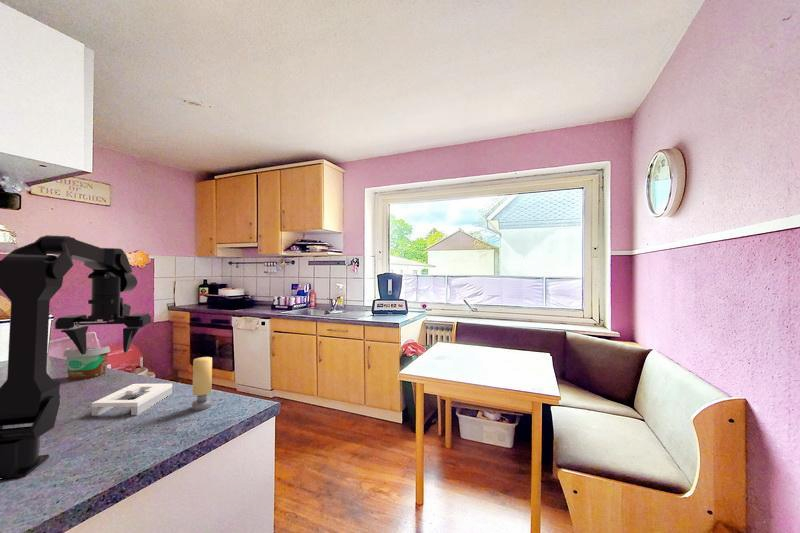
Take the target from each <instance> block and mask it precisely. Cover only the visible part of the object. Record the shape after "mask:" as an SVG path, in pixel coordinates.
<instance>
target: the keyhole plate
mask: <svg viewBox="0 0 800 533" xmlns="http://www.w3.org/2000/svg"><path fill="white" fill-rule="evenodd" d="M140 391H144V394H142V395H140V396H138V395H137V394H139V392H140ZM171 394H172V395H173V383H133V384H130V385H128V386H126V387H123V388H121V389H119V390H117V391H115V392H113V393H111V394H108V395H106V396H104V397H102V398H100V399H98V400H95V401H93V402H91V416H92V417H93V416H95V417H96V416H97V417H98V416H100V415H101V414H104V413H105V412H106V413H107V412H108V411H110V410H112V409H113V408H115V407H116V408H120V407H121V408H123V407H125V408H129V407H130V408H131V410H130V412H131V413H130V415H131V416H139V415H140V414H141V413H143V412H145V411H147V410H149V409H150V408H152V407H153V406H155V405H157V404H158V403H160V402H162V401H163V400H165V399H167V398H168V397H170V396H172V395H171ZM135 395H137V396H138V397H136V396H135ZM169 395H170V396H169ZM134 396H135V397H134ZM167 396H168V397H167ZM132 397H133V398H134V399H133V398H132ZM166 397H167V398H166ZM130 398H131V399H130ZM164 398H165V399H164ZM128 399H129V400H128ZM162 399H163V400H162ZM161 400H162V401H161ZM159 401H160V402H159ZM157 402H158V403H157ZM156 403H157V404H156ZM154 404H155V405H154ZM151 406H152V407H151Z"/></svg>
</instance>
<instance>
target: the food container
mask: <svg viewBox="0 0 800 533" xmlns="http://www.w3.org/2000/svg"><path fill="white" fill-rule="evenodd" d="M109 353H111V347H110V346H109V345H107V346H104V347H98V348H94V347H87V349H86V354H84V355H82V354H81V353H80V351H79V350H78V349H70V347H67V348H65V350H64V352H63V357H65V359H66V365H67V377H68V380H69V381H75V380H76V381H85V379H87V380H91V378H92V379H96V378H95V377H97V378H99V377H98V376H100V377H102V376H101V375H103V374H105V375H106V371H107V370H106V368H107V363H108V356H109V355H108V354H109ZM103 376H104V375H103Z"/></svg>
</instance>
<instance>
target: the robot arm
mask: <svg viewBox="0 0 800 533" xmlns="http://www.w3.org/2000/svg"><path fill="white" fill-rule="evenodd" d="M73 260H75V261H79V262H83V265H84V266H85V267H86V268H88V269H91V271H92V272H91V273H89V274H88V276H87V279H90V280H91V294H90V295H91V296H90V297H91V298H90V299H88V301H87V302H88V305H90V306H91V307H90V309H91V310H90V312H91V313H90V315H86V314H69V315H66V316H65V315H64V316H60V317H58V318H56V319H55V321H54V330H60V332H61V333H65V334H66V335H67V337H68V338H70V340H71V341H72V342H73V344H74V345H75V347H76V348H77V350H79V351H80V353H81V354H82V355H84V354H86V349H87V348H88V347H87V331H88V329H89V325H90V326H94V325H95V326H96V325H98V326H99V325H124V326H125V327H124V328H123V329H122V349H123V353H128V351H129V349H130V347H131V344H132V343H133V340H134V338H135V336H136V334H137V333H138V331H139V330H141V329H143V328H145V326H147V325H150V324H151V323H152V316H151V315H150V314H149V313H132V314H131V310H132V306H131V305H129V304H127V303H124V299H123V297H121V293H126V292H129V291H133V290H134V289H135V288H136V287H137V285H138V279H137V277H136V276H135V275H134V274H133V270H132V267H131V264H130V261H129V258H128V256H127V253H126V252H124V250H123V249H122V248H117V247H116V248H114V247H99V246H97V245H93V244H91V243H88V242H84V241H82V240H78V239H76V237H71V236H69V235H43V236H40V237H39V238H38V239H36V240H35V241H34V242H31V243H28V244H26V245H23V246H20V247H18V248H16V249H14V250H12V251H10V252H9V253H8V254H7V255H6V256H4V257H2V259H1V260H0V291H1V292H2V293H3V294H4V295H5V297H7V299H8V300H9V301H10V315H9V334H8V335H9V336H8V354H7V374H6V375H7V376H6V380H5V382H4V383H2V385H0V478H9V477H11V478H9V479H13V478H12V477H16V478H20V477H21V478H22V477H25V476H28V474H30V473H31V472H33V470H35V469H36V468H37V467H39V466H40V465H41V464H43V463H44V462H45V461H46V460H48V459H49V458H50V454H41V455H40V446H41V444H40V441H41V436H43V435H44V434H45V433H48V432H49V431H50V430H53V428H55V424H56V420H57V416H58V412H59V408H60V405H61V404H60V403H61V400H60V399H61V395H60V387H61V381H60V379H59V378H52V377H51V376H50V375H49V374H48V373H47V368H48V366H47V365H48V347H49V346H48V345H49V340H48V339H49V325H50V324H49V321H50V318H49V317H50V302H51V299H52V298H53V297H54V295H56V293H57V292H58V291H59V290H60V289H61V288H62V287H63V281H64V276H65V275H66V274H67V273H68V272H70V270H71V268H72V267H73V266H74V262H73ZM29 424H32V425H29ZM19 425H29V426H19ZM5 426H6V427H7V426H17V427H10V428H9V427H8V428H4V427H5ZM18 426H19V427H18Z"/></svg>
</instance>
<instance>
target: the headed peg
mask: <svg viewBox="0 0 800 533" xmlns="http://www.w3.org/2000/svg"><path fill="white" fill-rule="evenodd" d="M192 360H193V362H192V364H193V366H192V396H196V400H194V401H192V404H191V409H192V411H194V412H195V411H196V412H197V411H198V412H199V411H205V410H208V409H210V408H211V407H212V399H211V398H208V394H210V393H212V387H213V386H212V385H213V384H212V382H213V381H212V380H213V357H212V356H211V357H210V356H202V357H197V358H194V359H192Z"/></svg>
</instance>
